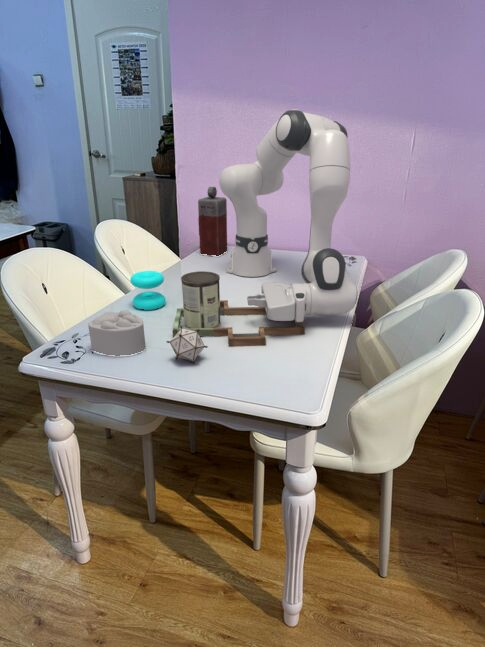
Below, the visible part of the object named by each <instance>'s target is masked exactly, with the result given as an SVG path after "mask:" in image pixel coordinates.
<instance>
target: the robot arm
mask: <svg viewBox="0 0 485 647" xmlns="http://www.w3.org/2000/svg"><path fill="white" fill-rule="evenodd" d="M256 146H257V147H256V150H255V151H256V152H255V153H256V159H257V160H256V161H254V162H250V163H239V164H233V165H230V166H227V167H225V168H223V169H222V171H221V172H220V175H219V179H218V180H219V181H218V182H219V188H220V190H221V192H222V194H224V196H226V197H227V198H228V199H229V201H230V202H231V203H232V205H233V208H234V211H235V212H234V213H235V218H236V219H235V220H236V234H235V238H234V239H235V240H234V241H235V247H234V248H233V250H232V251H231V252H230V258H231V260H230V263H229V265H228V267H227V268H226V273H228V274H233V275H236V276H241V277H245V278H246V277H247V278H248V277H249V278H256V277H264V276H267V275H269V274H271V273H275V272H277V268H276V267H275V266H274V265H273V260H272V259H273V256H272V255H273V254H272V252H273V251H272V249H271V248H270V247H269V246H268V244H269V237H268V236H269V234H268V231H267V230H268V214H267V212H266V211H265V210H264V209H263V208H262V207H260V206H259V204H258V200H257V196H265V195H269V194H272V193H275V192H277V191H279V190H280V189H281V188H282V187H283V185H284V179H285V176H284V175H285V174H284V171H283V170H284V169H285V167H286V166H287V165H288V164H289V162H290V161H291V160H292V159H293V158H294V157H295V155H296V154H300V155H304V156H308V157H309V172H308V175H309V177H308V182H309V183H308V185H309V186H308V188H309V202H310V204H309V205H310V229H309V230H310V231H309V244H308V245H309V246H308V251H307V254H306V257H305V259H304V261H303V263H302V265H301V276H302V280H304V283H291V284H290V286H288V284H286V283H284V282H282V283H281V282H264V283H262V284H261V287H260V288H261V293H257V294H255V295H247V298H246V302H247V305H248V306H253V307H265V309H266V313H267V315H266V317H267V319H269V320H271V321H274V322H275V321H277V322H278V321H279V322H292V321H294V319H295V321H296V322H303V323H304V320H305V318H306V316H312V315H315V314H318V315H321V316H329V315H330V316H331V315H332V316H333V315H341V314H342V315H343V314H347V313H350V311H352V310H353V309H354V307H355V305H356V304H357V300H358V287H357V286H356V284H355V283H354V282H353V281H352V279H351V277H350V275H349V272H348V269H347V266H346V259H345V257H344V256H343V254H342V253H341V252H340V251H339V250H337V249H335V248H331V247H332V245H331V244H332V235H333V234H332V233H333V224H334V220H335V217H336V215H337V213H338V211H339V209H340V207H341V206H342V205H343V203H344V202H345V199H346V198H347V197H348V196H347V195H348V190H349V186H350V181H351V180H350V179H351V155H350V154H351V153H350V146H349V140H348V132H347V128H346V127H345V126H344V125H343V124H341V123H340V122H338V121H336V120H332V119H330V118H327V117H325V116H322V115H319V114H314V113H309V112H303V111H302V110H300V109H297V108H295V109H294V108H293V109H289V110H286V111H285V112H284V113H283V114H282V115H280V117H279V118H278V120H276V121H275V123H274V124H273V125H272V126H271V128H269V130H268V131H267V132H266V134H265V135H264V137H263V138H262V140H260V142H258V145H256ZM295 321H294V322H295Z"/></svg>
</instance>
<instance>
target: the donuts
mask: <svg viewBox="0 0 485 647" xmlns="http://www.w3.org/2000/svg"><path fill="white" fill-rule="evenodd" d="M164 280H165V277H164V275H163V273H161V272H159V271H154V270H143V271H138V272H135V273H133V274H132V275H131V277H130V280H129V281H130V283H131V285H132V286H133V287H135V288H137V289H140V290H141V289H142V290H149V289H151V290H152V289H155V288H157V287H160V286H161V285H162V284H163V283H164ZM166 302H167V301H166V296H164V295H163V293H160V292H159V291H143V292H140V293H137V295H135V296H134V297H133V299H132V305H133V306H134V307H135V308H136V309H138V310H141V309H144V310H143V311H153V310H157V308H158V309H160V308H162V307H163V306H164V305H165V304H166Z"/></svg>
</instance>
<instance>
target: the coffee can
mask: <svg viewBox="0 0 485 647" xmlns="http://www.w3.org/2000/svg"><path fill="white" fill-rule="evenodd" d="M220 278H221V277H220V275H219V274H218V273H216V272H211V271H202V270H201V271H193V272H188V273H185V274H183V275H182V276H181V277H180V281H181V289H182V290H181V292H182V309H184V316H183V318H184V321H183V322H184V324H183V326H184V328H218V327H219V328H221V324H222V323H221V315H220V300H221V299H220V297H221V296H220V294H221V293H220V280H221V279H220Z"/></svg>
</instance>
